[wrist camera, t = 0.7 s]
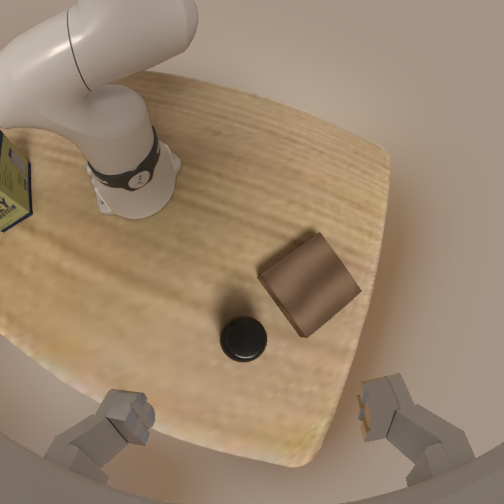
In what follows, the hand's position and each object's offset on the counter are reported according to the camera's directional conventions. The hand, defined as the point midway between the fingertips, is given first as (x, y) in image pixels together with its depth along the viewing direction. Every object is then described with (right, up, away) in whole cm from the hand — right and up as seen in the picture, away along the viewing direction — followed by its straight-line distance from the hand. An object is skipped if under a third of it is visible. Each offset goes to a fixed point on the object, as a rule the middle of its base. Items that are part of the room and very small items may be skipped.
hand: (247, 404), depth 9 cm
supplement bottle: (-2, -9, +38) cm, 39 cm away
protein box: (-55, +18, +38) cm, 70 cm away
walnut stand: (+10, -1, +41) cm, 42 cm away
